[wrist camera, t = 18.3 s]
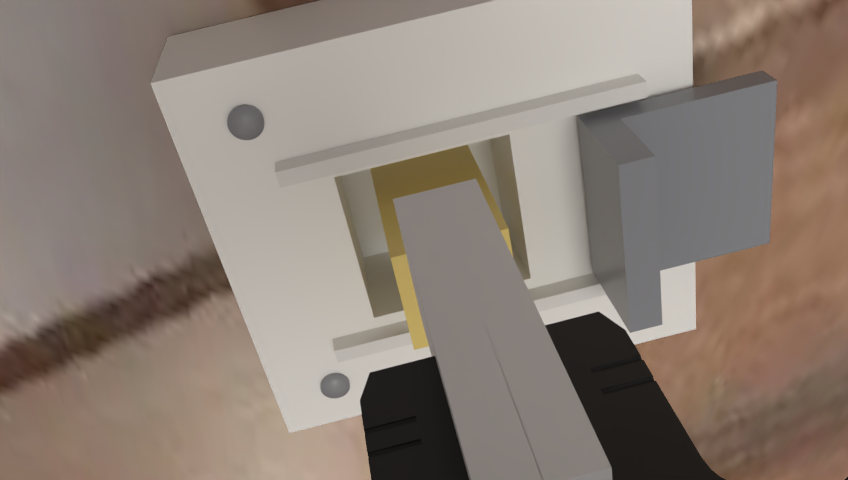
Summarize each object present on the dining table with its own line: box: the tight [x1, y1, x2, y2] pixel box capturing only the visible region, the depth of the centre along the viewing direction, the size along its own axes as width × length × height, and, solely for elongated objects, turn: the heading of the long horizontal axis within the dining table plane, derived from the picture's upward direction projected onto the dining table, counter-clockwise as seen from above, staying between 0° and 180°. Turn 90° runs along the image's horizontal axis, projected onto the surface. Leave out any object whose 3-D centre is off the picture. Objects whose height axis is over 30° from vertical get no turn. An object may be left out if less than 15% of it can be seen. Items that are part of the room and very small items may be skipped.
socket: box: [150, 0, 696, 433], centre depth 32 cm, size 16×18×6 cm
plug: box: [370, 145, 513, 350], centre depth 31 cm, size 4×4×8 cm
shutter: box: [577, 71, 777, 333], centre depth 29 cm, size 7×7×4 cm
